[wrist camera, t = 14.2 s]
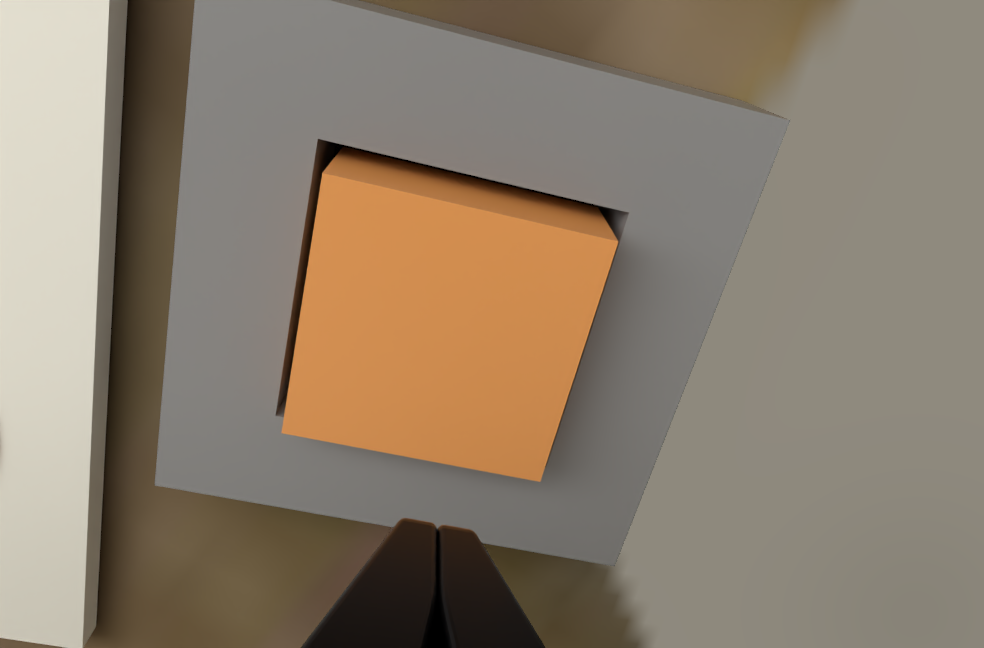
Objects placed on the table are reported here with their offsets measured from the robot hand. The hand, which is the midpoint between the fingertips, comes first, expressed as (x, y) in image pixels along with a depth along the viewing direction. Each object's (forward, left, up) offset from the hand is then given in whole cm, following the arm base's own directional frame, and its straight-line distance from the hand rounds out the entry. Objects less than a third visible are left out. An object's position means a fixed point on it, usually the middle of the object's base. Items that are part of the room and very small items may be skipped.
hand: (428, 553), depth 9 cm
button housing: (0, 0, -9) cm, 9 cm away
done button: (0, 0, -8) cm, 8 cm away
